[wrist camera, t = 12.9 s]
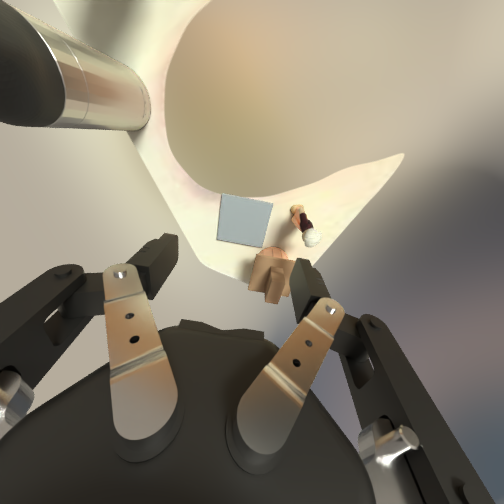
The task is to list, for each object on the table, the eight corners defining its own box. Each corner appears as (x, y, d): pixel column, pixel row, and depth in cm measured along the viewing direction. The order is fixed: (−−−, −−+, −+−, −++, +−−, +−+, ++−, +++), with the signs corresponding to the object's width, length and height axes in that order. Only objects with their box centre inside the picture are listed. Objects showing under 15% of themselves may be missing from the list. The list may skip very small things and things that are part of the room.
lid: (248, 287, 46) (246, 305, 41) (256, 253, 41) (256, 269, 36) (287, 294, 47) (290, 313, 42) (300, 262, 42) (306, 278, 37)
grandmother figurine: (283, 206, 42) (291, 231, 31) (298, 196, 40) (313, 218, 29) (300, 232, 45) (313, 263, 34) (315, 224, 43) (333, 253, 33)
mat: (217, 238, 46) (217, 239, 46) (222, 193, 40) (222, 193, 40) (261, 246, 47) (261, 247, 46) (272, 203, 41) (273, 204, 41)
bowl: (253, 269, 51) (253, 284, 46) (260, 244, 47) (260, 257, 42) (283, 275, 51) (285, 289, 46) (291, 250, 47) (295, 263, 42)
